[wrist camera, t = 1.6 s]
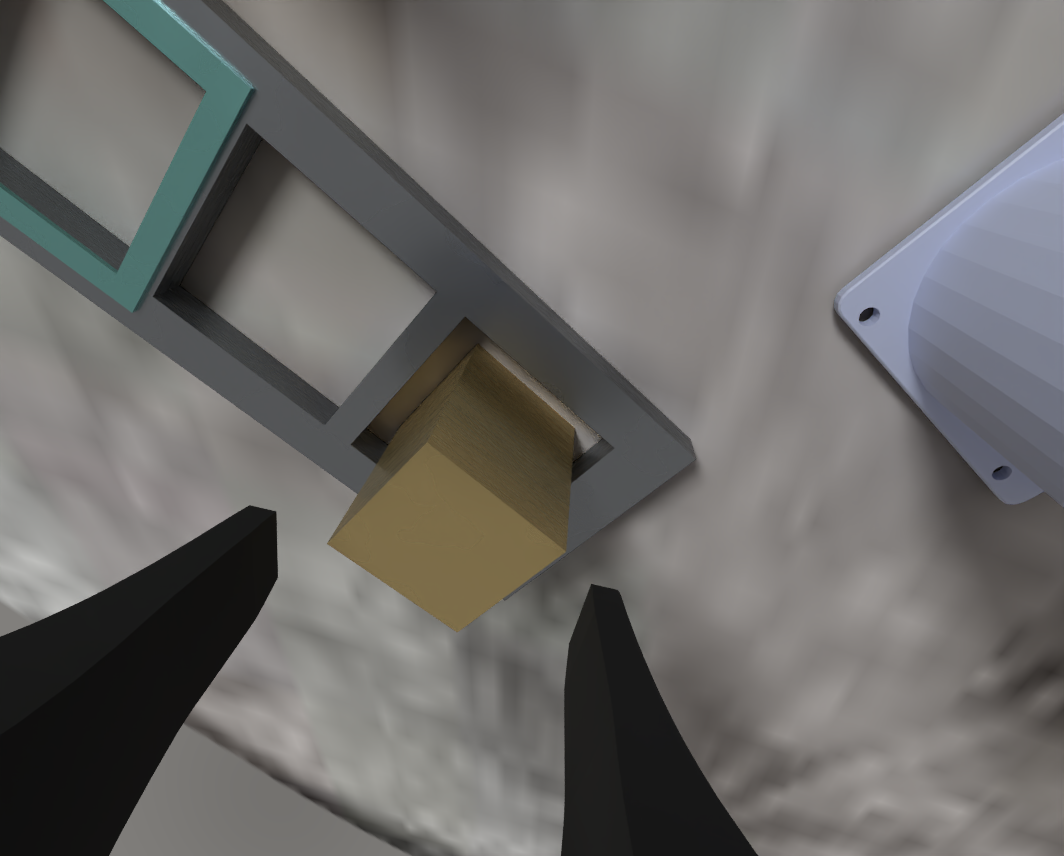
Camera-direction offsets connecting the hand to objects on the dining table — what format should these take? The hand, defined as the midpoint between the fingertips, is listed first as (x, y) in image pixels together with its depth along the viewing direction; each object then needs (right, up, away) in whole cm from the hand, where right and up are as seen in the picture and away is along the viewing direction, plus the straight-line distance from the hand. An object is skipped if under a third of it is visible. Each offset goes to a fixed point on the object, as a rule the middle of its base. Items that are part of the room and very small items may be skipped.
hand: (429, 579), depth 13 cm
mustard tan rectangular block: (+1, +4, +6) cm, 7 cm away
